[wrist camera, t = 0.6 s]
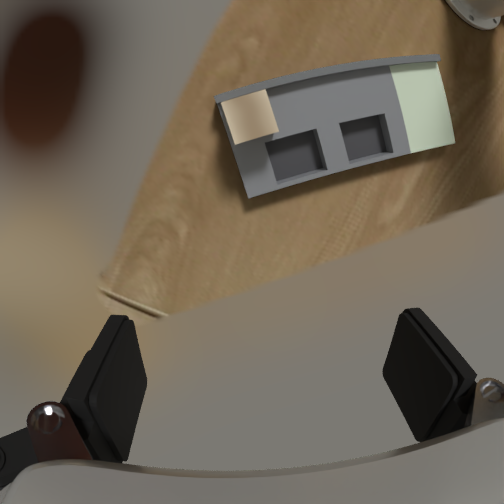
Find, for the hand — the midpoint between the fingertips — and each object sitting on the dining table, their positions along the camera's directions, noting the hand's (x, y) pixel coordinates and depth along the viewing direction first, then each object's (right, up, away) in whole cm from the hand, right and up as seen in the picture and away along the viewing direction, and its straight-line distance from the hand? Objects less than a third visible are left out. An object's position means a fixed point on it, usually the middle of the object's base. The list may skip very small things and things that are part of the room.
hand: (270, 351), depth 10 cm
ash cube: (-1, +16, +19) cm, 25 cm away
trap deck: (+10, +18, +21) cm, 29 cm away
